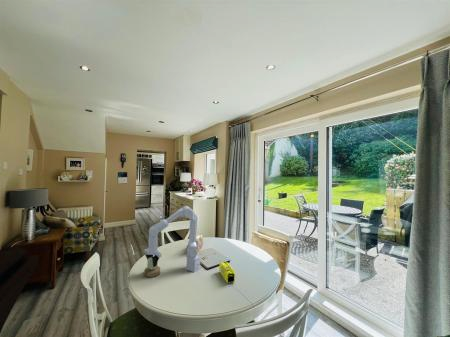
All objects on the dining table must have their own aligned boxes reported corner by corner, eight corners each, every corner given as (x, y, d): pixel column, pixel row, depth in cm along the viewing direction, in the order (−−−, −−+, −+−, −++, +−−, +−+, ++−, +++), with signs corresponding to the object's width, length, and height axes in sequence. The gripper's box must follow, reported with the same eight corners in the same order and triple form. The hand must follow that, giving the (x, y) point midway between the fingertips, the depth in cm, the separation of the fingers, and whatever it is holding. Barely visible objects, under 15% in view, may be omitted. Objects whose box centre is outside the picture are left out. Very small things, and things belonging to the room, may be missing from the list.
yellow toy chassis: (218, 272, 140) (218, 260, 140) (226, 270, 142) (226, 258, 142) (226, 284, 125) (226, 271, 125) (235, 283, 126) (235, 269, 126)
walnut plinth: (163, 272, 136) (163, 268, 136) (150, 279, 127) (151, 274, 127) (153, 268, 141) (153, 264, 141) (140, 274, 133) (141, 270, 133)
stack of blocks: (196, 244, 187) (196, 231, 187) (202, 245, 186) (203, 232, 186) (189, 254, 166) (190, 239, 166) (197, 255, 165) (197, 240, 165)
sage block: (157, 267, 135) (157, 258, 135) (151, 269, 131) (152, 260, 131) (153, 265, 137) (153, 256, 137) (147, 267, 134) (147, 258, 134)
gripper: (140, 244, 135) (140, 264, 135) (155, 249, 127) (154, 270, 127) (149, 241, 141) (149, 260, 141) (164, 245, 133) (163, 266, 133)
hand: (152, 265), depth 134 cm, fingers closed on sage block, 4 cm apart
